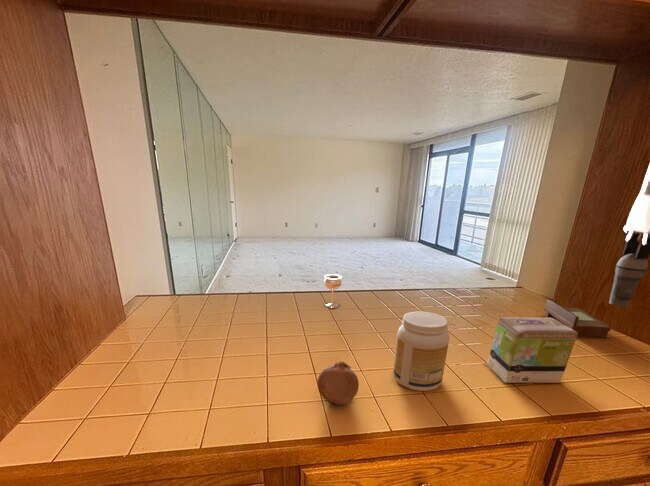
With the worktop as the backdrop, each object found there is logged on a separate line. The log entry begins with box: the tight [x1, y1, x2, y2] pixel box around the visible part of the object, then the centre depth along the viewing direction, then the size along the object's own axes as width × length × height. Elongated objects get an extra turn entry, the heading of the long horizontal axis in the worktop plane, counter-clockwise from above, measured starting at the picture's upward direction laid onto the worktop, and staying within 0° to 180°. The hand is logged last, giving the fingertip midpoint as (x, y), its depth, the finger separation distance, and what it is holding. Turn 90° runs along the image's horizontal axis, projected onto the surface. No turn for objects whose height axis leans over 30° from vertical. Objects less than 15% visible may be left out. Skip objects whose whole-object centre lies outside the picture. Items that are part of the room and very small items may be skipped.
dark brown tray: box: [543, 298, 612, 339], centre depth 122 cm, size 12×18×7 cm, turn 175°
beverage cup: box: [608, 253, 649, 308], centre depth 102 cm, size 7×7×20 cm
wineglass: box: [323, 273, 342, 309], centre depth 136 cm, size 7×7×12 cm
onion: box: [316, 361, 360, 406], centre depth 78 cm, size 10×9×10 cm
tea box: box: [486, 316, 578, 384], centre depth 90 cm, size 15×10×15 cm, turn 94°
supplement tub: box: [392, 311, 450, 392], centre depth 86 cm, size 12×12×17 cm
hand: (635, 256), depth 100 cm, fingers closed on beverage cup, 4 cm apart
